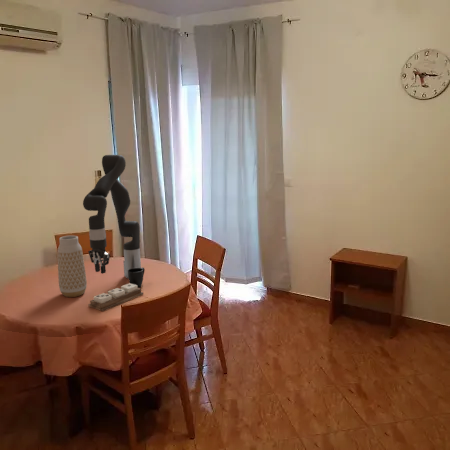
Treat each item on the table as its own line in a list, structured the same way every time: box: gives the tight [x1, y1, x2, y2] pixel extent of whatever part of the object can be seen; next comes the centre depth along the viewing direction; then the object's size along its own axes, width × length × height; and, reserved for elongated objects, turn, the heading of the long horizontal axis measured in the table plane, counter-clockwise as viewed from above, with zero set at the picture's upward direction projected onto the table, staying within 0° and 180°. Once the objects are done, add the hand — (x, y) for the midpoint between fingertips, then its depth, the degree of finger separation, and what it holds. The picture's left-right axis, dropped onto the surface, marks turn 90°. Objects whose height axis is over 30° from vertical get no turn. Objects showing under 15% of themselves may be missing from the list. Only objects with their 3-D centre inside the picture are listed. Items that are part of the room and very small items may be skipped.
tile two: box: [107, 287, 125, 298], centre depth 212 cm, size 6×6×3 cm
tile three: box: [93, 292, 112, 304], centre depth 206 cm, size 6×6×3 cm
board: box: [88, 287, 144, 312], centre depth 213 cm, size 11×26×3 cm, turn 144°
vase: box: [57, 235, 88, 298], centre depth 219 cm, size 14×14×31 cm
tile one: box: [120, 282, 138, 293], centre depth 219 cm, size 6×6×3 cm
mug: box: [127, 266, 146, 289], centre depth 233 cm, size 8×12×10 cm
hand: (100, 272), depth 203 cm, fingers open, 3 cm apart
